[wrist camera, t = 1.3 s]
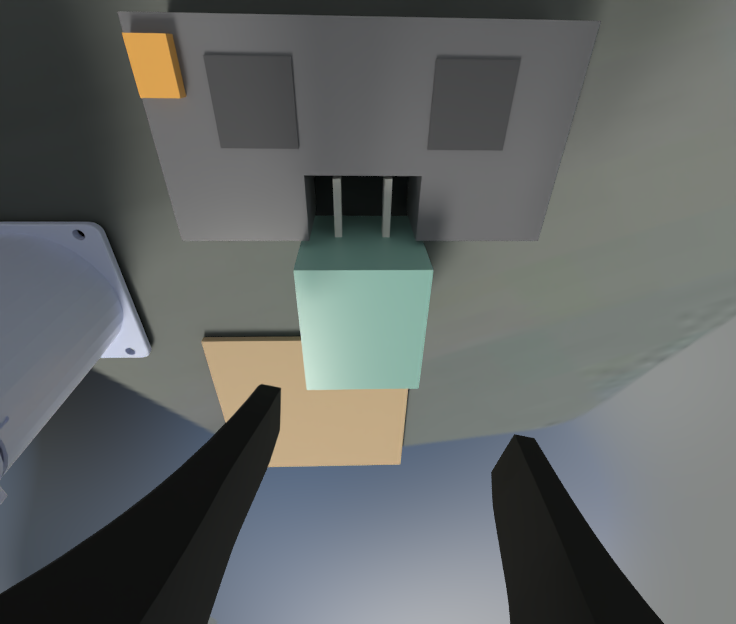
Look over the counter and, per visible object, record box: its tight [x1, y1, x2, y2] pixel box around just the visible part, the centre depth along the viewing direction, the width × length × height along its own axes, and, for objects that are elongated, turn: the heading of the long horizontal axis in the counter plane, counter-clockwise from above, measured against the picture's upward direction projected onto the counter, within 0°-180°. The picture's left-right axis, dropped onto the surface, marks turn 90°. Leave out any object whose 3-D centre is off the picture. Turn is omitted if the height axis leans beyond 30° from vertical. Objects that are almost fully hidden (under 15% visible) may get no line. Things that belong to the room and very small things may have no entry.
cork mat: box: [201, 336, 408, 467], centre depth 25 cm, size 12×12×1 cm
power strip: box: [117, 11, 601, 241], centre depth 14 cm, size 14×7×4 cm, turn 89°
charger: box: [294, 176, 433, 390], centre depth 17 cm, size 5×8×6 cm, turn 179°
